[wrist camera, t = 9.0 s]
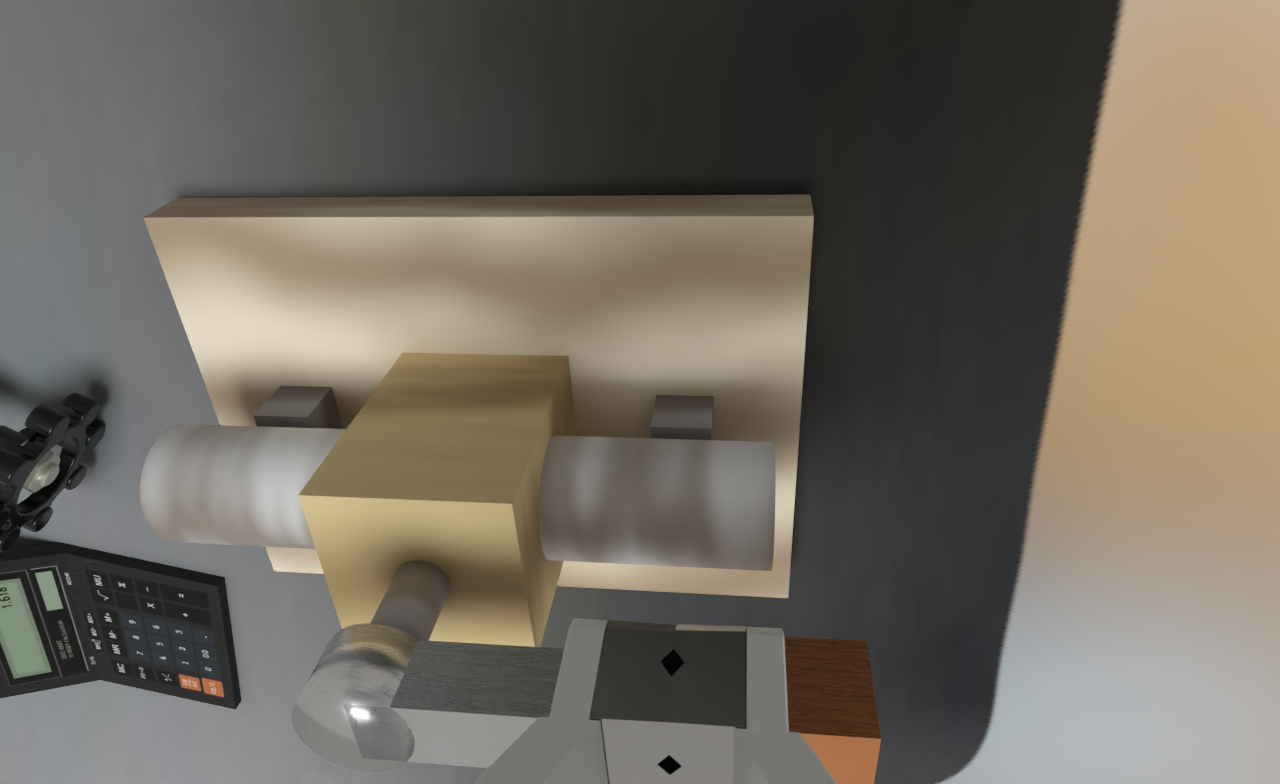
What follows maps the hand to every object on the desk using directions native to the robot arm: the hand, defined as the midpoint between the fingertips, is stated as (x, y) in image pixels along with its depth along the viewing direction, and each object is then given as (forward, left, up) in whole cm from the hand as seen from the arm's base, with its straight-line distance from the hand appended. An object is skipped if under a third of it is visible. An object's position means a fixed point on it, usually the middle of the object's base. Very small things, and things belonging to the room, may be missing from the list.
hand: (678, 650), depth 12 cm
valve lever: (+8, -3, -6) cm, 10 cm away
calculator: (+22, -30, -19) cm, 42 cm away
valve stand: (+8, -8, -19) cm, 22 cm away
